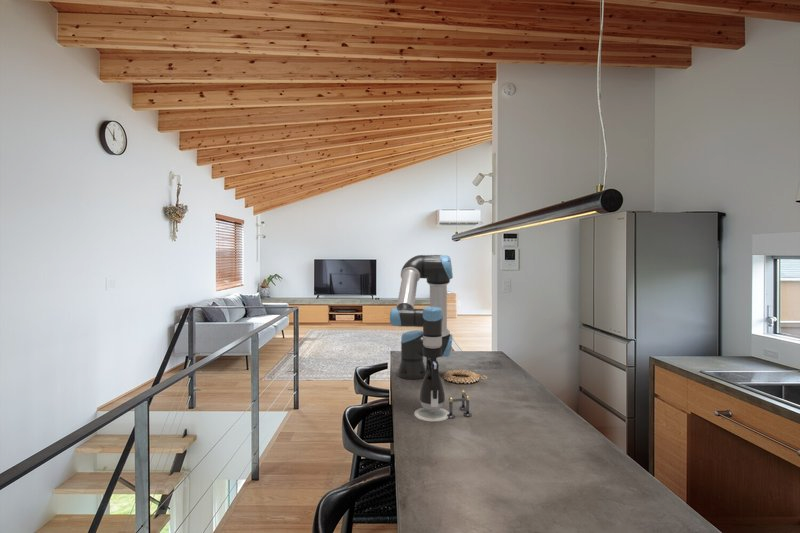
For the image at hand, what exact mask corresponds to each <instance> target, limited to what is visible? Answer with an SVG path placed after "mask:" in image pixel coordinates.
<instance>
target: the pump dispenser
mask: <svg viewBox="0 0 800 533" xmlns="http://www.w3.org/2000/svg"><path fill="white" fill-rule="evenodd" d="M442 381H443V380H442V378H441V376H440V375H439V388H440V389H439V390H438V407H431V391H430V389H431V388H432V387H431V375H430V373H429V372H427V373H426V375H425V377H424V378H422V383H421V386H420V391H419V396H418V397H419V398H418V399H419V401H420V405H421V407H422V408H425V409H426V410H429V411H436V410H439V409H440V408H443V406H444V403H445V401H446V392H445V387H444V384H443V382H442Z"/></svg>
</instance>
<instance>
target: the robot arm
mask: <svg viewBox="0 0 800 533" xmlns="http://www.w3.org/2000/svg"><path fill="white" fill-rule="evenodd" d="M453 276H454V275H453V266H452V261H451V257H450V256H449V255H446V254H445V255H443V254H420V255H415V256H413V257H411V258H409V260H406V262H405V263H404V265H403V266H402V269H401V271H400V278H401V282H400V287H399V292H398V298H397V301H396V302H397V304H396V307H395V308H393V307H392V308H391V309H390V311H389V323H390V325H391V327H392V326H393V327H401V328H402V327H410V328H412V327H415V328H416V327H417V328H422V330H418V329H417V330H409V331H405V332H404V333H402V335H401V340H400V344H401V345H400V347H401V348H400V357H401V358H400V363H399V366H398V370H397V376H398V378H401V379H405V380H420V379H424V377H425V375H426V373H427V372H429V373H430V375H431V387H432V388H431V389H430V391H431V407H438V390H439V389H440V388H439V376H440V373H439V362H438V361H437V358H445V357H449V356H450V355H451V351H452V342H453V334H451V332H450V330H449V329H448V324H447V323H448V320H447V319H448V317H447V316H448V311H447V310H448V309H447V308H448V304H447V303H448V302H447V300H448V296H447V295H448V287H447V286H448V284H450V282H451V279H453V278H454V277H453ZM420 279H426V283H427V284H428V285H429V306H425V307H424V308H415V303H416V302H415V300H416V295H417V287H418V282H419V281H420ZM424 357H425V359H426V364H425V362H424Z"/></svg>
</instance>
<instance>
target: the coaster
mask: <svg viewBox="0 0 800 533" xmlns="http://www.w3.org/2000/svg"><path fill="white" fill-rule="evenodd" d="M413 414H414V417H415V418H416V419H418V420H420V421H424V422H433V423H435V422H442V421H443V422H444V421H446V420H447V419H449V418H448V416H447V414H449V410H447V409H445V408H443V407H441V408H440V409H439V410H436V411H429V410H426V409H425V408H424V407H419V408H417V409H416V410H415V411H414V413H413Z"/></svg>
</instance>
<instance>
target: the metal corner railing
mask: <svg viewBox="0 0 800 533" xmlns="http://www.w3.org/2000/svg"><path fill="white" fill-rule="evenodd" d="M460 393H461V398H453V397H451V396H450V397H448V401H449V403H448V404H449V408H448V409H449V410H448V412H449V414H447V416H448V419H455V418H456V414H453V403H455V402H461V405H460V406H459V408H458V409H459V410H460V411H465V412H463V416H464V417H466V418H471V417H473V416H472V415H473V414H472V413H471V412H470V400H471V397H470V395H467V393H466V391H465V390H461V392H460Z"/></svg>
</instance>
